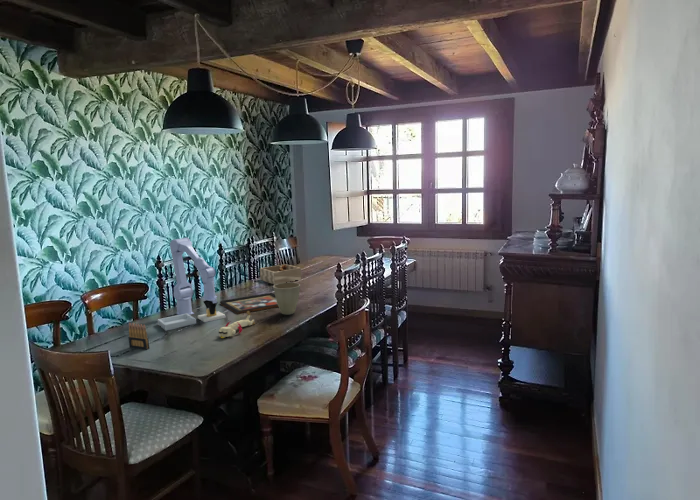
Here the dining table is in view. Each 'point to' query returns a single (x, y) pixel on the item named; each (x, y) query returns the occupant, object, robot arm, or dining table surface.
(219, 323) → the dining table surface
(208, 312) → the block
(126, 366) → the dining table surface
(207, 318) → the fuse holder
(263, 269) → the display box
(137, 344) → the ammunition clip
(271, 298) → the framed painting
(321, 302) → the dining table surface
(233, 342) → the dining table surface
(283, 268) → the bear figurine
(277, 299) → the plant pot
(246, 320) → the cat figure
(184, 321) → the parts tray
